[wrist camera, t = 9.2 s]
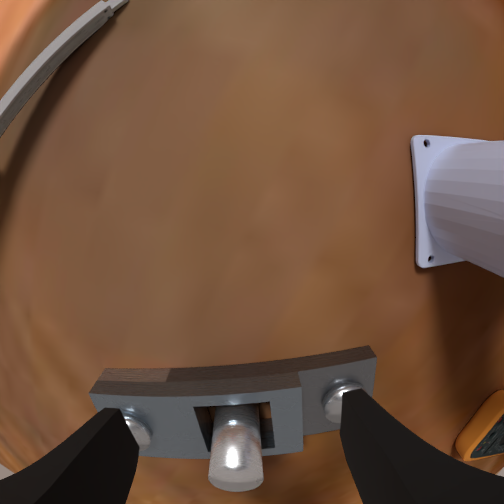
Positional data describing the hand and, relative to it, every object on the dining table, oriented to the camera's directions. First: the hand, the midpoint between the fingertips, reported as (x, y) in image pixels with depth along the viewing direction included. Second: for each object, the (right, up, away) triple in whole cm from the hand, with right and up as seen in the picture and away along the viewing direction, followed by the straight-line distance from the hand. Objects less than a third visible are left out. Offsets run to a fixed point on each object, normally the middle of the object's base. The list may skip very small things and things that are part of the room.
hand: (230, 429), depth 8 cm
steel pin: (0, -4, +11) cm, 11 cm away
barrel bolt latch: (0, -4, +11) cm, 12 cm away
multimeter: (+31, -14, +14) cm, 37 cm away
